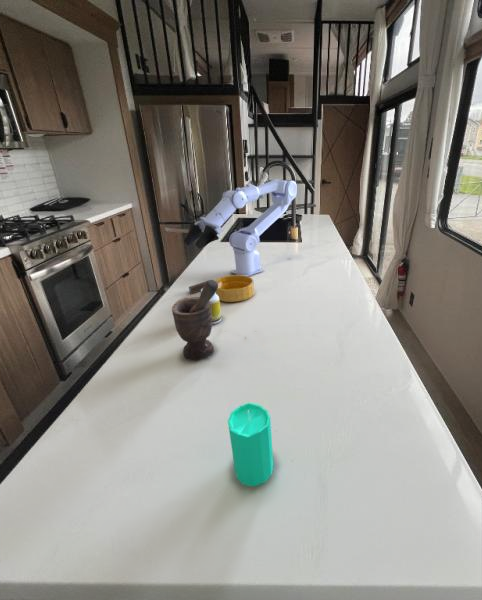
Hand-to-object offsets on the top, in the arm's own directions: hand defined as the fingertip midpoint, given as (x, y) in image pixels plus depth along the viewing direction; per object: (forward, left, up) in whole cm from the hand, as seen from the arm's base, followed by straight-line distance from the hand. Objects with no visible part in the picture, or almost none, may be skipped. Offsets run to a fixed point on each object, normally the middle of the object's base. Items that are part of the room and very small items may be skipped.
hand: (191, 245), depth 107 cm
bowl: (-6, +13, -16) cm, 22 cm away
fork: (-4, +1, -16) cm, 17 cm away
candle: (+30, +69, -16) cm, 77 cm away
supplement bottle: (+9, +23, -16) cm, 30 cm away
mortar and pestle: (+19, +36, -16) cm, 44 cm away
